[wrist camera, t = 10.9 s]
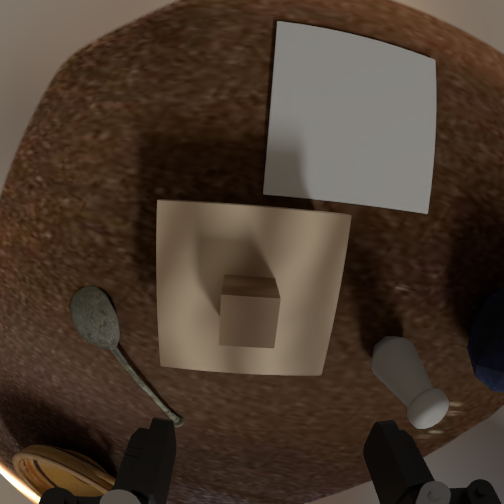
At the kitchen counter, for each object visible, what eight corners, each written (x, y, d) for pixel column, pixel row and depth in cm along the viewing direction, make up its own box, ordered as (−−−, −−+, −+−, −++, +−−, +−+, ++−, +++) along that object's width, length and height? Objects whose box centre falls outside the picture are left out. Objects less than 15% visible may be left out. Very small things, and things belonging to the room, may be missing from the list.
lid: (348, 214, 25) (370, 225, 20) (319, 370, 28) (330, 402, 24) (159, 199, 24) (141, 207, 19) (162, 361, 28) (150, 392, 23)
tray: (432, 61, 26) (435, 59, 26) (424, 213, 31) (427, 214, 30) (276, 23, 25) (277, 21, 25) (262, 193, 30) (263, 194, 29)
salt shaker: (356, 351, 35) (398, 424, 22) (393, 320, 34) (448, 384, 22) (379, 375, 36) (419, 444, 24) (413, 346, 35) (464, 408, 23)
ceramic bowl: (87, 503, 46) (78, 527, 39) (7, 435, 41) (-9, 459, 33) (179, 491, 43) (174, 525, 35) (79, 407, 37) (58, 443, 29)
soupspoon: (103, 272, 33) (67, 293, 34) (89, 282, 30) (53, 304, 30) (200, 413, 37) (161, 423, 38) (195, 431, 34) (155, 439, 35)
